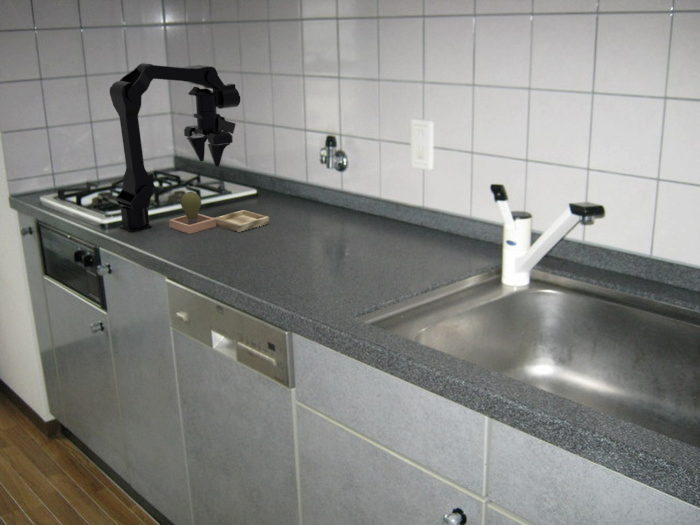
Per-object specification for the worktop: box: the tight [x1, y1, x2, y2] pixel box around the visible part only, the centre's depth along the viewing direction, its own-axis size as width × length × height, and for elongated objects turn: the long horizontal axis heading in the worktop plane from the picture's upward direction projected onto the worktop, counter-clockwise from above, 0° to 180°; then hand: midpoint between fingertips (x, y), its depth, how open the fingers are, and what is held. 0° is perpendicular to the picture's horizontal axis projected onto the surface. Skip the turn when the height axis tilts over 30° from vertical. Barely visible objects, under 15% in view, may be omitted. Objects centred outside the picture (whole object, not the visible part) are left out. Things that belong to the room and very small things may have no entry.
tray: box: [214, 209, 270, 233], centre depth 217 cm, size 11×11×2 cm
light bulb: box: [180, 191, 202, 225], centre depth 214 cm, size 6×6×10 cm
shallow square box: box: [168, 213, 217, 235], centre depth 215 cm, size 9×9×2 cm
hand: (209, 163), depth 227 cm, fingers open, 9 cm apart
